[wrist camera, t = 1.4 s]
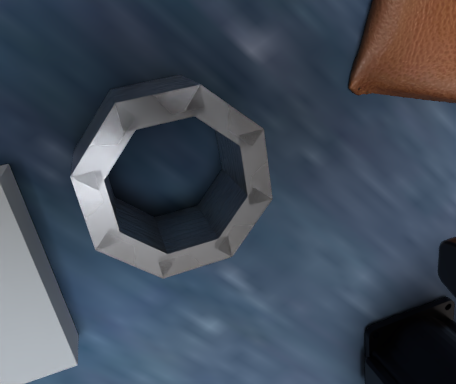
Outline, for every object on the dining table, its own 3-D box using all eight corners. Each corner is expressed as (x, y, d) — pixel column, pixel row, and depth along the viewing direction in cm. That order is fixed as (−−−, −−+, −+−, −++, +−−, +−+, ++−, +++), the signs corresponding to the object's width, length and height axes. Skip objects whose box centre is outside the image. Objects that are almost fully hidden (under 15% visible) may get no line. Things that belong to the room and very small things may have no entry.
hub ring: (226, 64, 17) (256, 72, 14) (249, 209, 20) (277, 242, 17) (57, 100, 16) (49, 117, 13) (107, 251, 19) (110, 294, 16)
